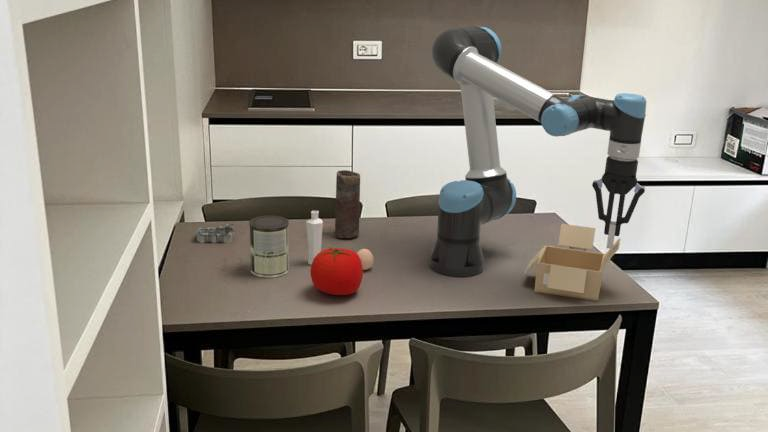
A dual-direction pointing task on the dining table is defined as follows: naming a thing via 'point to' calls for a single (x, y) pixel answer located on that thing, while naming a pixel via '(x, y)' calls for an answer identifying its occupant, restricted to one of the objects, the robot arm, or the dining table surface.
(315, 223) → the perfume bottle
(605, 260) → the right flap
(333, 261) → the tomato
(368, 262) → the egg
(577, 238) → the back flap
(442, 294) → the dining table surface
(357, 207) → the candle
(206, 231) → the egg carton
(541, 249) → the left flap
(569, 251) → the carton
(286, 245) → the coffee can
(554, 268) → the front flap
